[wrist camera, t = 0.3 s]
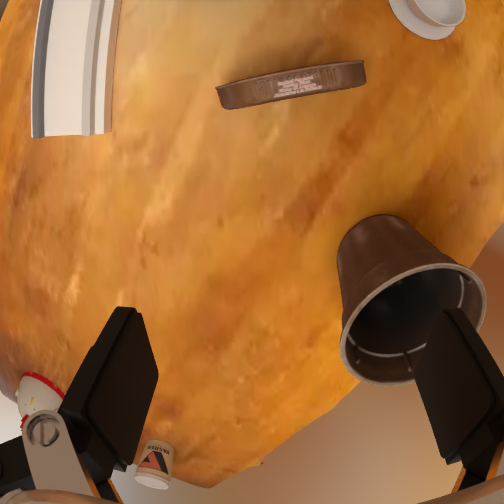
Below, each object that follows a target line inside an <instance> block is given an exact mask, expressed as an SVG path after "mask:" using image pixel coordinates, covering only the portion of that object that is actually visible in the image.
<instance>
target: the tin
mask: <svg viewBox="0 0 504 504" xmlns="http://www.w3.org/2000/svg"><path fill="white" fill-rule="evenodd" d="M363 62H364V61H363V60H358V61H348V62H336V63H328V64H322V65H314V66H308V67H302V68H296V69H290V70H285V71H279V72H274V73H269V74H264V75H260V76H255V77H251V78H247V79H243V80H239V81H235V82H231V83H228V84H225V85H221V86H218V87H215V88H216V90H217V92H218V95H219V99H220V102H221V105H222V107H223V108H224V109H228V110H231V109H239V108H244V107H250V106H255V105H260V104H265V103H269V102H274V101H279V100H285V99H290V98H296V97H301V96H307V95H312V94H318V93H324V92H330V91H336V90H343V89H349V88H354V87H358V86H362V85H364V84H365V83H366V76H365V70H364V66H363Z"/></svg>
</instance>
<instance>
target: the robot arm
mask: <svg viewBox="0 0 504 504" xmlns="http://www.w3.org/2000/svg"><path fill="white" fill-rule="evenodd" d="M414 379H415V382H416V384H417V387H418V390H419V392H420V394H421V398H422V400H423V403H424V406H425V409H426V412H427V415H428V417H429V421H430V423H431V426H432V430H433V433H434V436H435V439H436V442H437V445H438V448H439V452H440V455H441V456H442V458H445V460H446V463H447V465H449V464H452V463H455V462H459V461H460V460H461V461H462V464H463V467H462V469H461V472H460V474H459V476H458V479H457V481H456V483H455V486H454V488H453V490H452V492H451V494H448V495H445V496H442V497H439V498H436V499H432V500H429V501H425V502H421V503H418V504H504V376H503V375H502V373H501V371H500V369H499V367H498V366H497V364H496V362H495V361H494V359H493V357H492V356H491V354H490V353H489V351H488V349H487V347H486V346H485V344H484V343H483V341H482V339H481V338H480V336H479V335H478V333H477V331H476V330H475V328H474V327H473V325H472V324H471V322H470V321H469V319H468V318H467V316H466V315H465V313H464V312H463V310H462V309H461V308H459V307H458V308H446V309H444V310H443V311H442V312H441V313H440V314H439V315H438V316H437V319H436V321H435V324H434V326H433V329H432V331H431V334H430V336H429V338H428V341H427V343H426V345H425V348H424V350H423V352H422V354H421V357H420V359H419V361H418V363H417V365H416V367H415V370H414ZM157 381H158V368H157V365H156V362H155V359H154V355H153V352H152V349H151V345H150V342H149V339H148V335H147V331H146V328H145V324H144V321H143V317H142V314H141V313H137V310H136V309H135V308H133V307H120V306H118V307H116V308H115V310H114V311H113V313H112V315H111V316H110V318H109V320H108V321H107V323H106V325H105V327H104V328H103V330H102V332H101V334H100V335H99V337H98V339H97V341H96V343H95V344H94V345H93V346H92V347H91V348H90V350H89V351H88V353H87V355H86V357H85V359H84V360H83V362H82V364H81V366H80V368H79V370H78V372H77V374H76V375H75V377H74V379H73V381H72V383H71V385H70V387H69V389H68V391H67V393H66V395H65V397H64V399H63V401H62V403H61V405H60V407H59V409H58V411H57V412H55V411H52V410H46V409H44V410H39V411H37V412H35V413H33V414H31V415H30V416H29V417H28V418H27V420H26V421H25V423H24V425H23V429H22V436H19V437H16V438H14V439H12V440H9V441H7V442H4V443H2V444H0V504H124V503H123V502H122V500H121V498H120V496H119V494H118V493H117V491H116V489H115V487H114V485H113V483H112V481H111V479H110V478H111V475H112V472H113V469H114V470H119V471H122V472H126V468H127V465H131V464H132V463H133V461H134V457H135V454H136V450H137V447H138V443H139V440H140V437H141V433H142V430H143V426H144V423H145V420H146V416H147V413H148V410H149V407H150V403H151V400H152V397H153V394H154V391H155V388H156V384H157Z"/></svg>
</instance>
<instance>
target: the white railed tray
mask: <svg viewBox="0 0 504 504" xmlns="http://www.w3.org/2000/svg"><path fill="white" fill-rule="evenodd" d="M121 2H122V0H41V2H40V8H39V14H38V20H37V27H36V35H35V43H34V53H33V66H32V84H31V135H32V137H33V139H35V138H41V137H44V136H59V135H80V134H82V136H90V135H93V134H105V133H108V132H111V108H112V86H113V71H114V59H115V48H116V39H117V30H118V22H119V15H120V8H121Z"/></svg>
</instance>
